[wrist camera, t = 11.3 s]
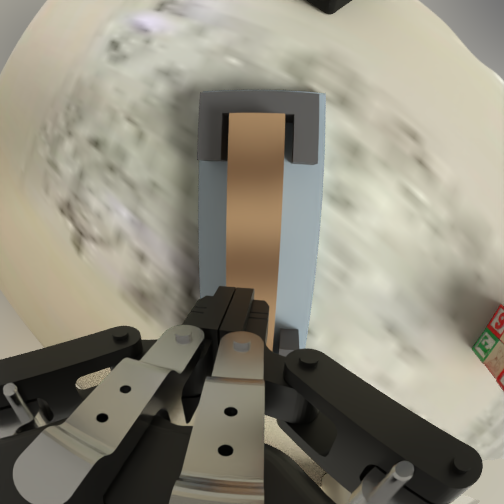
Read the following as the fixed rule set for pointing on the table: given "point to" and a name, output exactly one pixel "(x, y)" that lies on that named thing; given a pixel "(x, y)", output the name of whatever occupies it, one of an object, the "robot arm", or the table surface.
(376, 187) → the table surface
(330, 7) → the battery
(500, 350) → the stack of blocks
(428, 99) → the table surface
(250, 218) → the slat
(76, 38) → the table surface
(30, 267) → the table surface
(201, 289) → the cap board
